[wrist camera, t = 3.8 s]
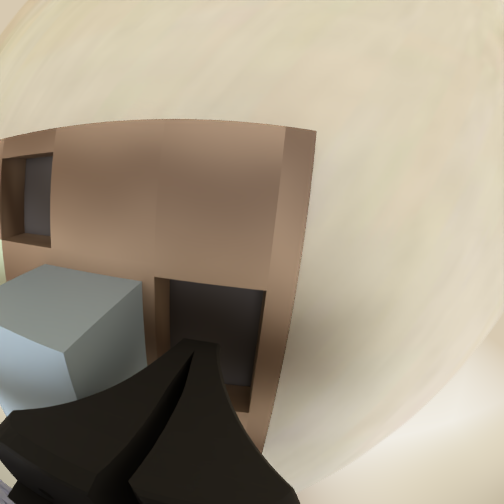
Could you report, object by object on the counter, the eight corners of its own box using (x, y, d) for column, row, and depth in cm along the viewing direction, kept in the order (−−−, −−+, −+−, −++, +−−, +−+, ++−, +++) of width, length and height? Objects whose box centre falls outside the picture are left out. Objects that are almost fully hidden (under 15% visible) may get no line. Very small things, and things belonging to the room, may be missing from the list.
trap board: (257, 448, 14) (255, 499, 10) (14, 376, 14) (-12, 402, 11) (306, 140, 10) (331, 117, 6) (-17, 150, 10) (-61, 151, 7)
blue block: (149, 385, 11) (107, 469, 6) (62, 358, 11) (6, 417, 6) (141, 281, 10) (63, 353, 5) (45, 263, 10) (-38, 305, 5)
